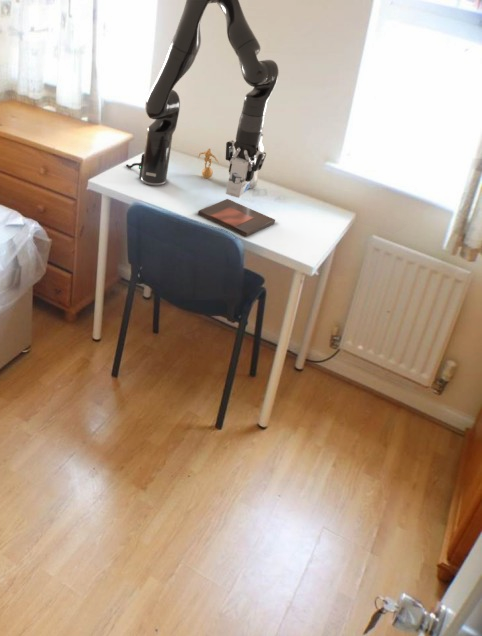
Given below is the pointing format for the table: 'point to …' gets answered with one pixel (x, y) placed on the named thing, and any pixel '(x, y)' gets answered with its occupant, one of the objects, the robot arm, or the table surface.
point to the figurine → (206, 171)
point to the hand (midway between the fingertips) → (240, 177)
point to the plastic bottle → (255, 176)
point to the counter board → (236, 217)
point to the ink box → (238, 178)
